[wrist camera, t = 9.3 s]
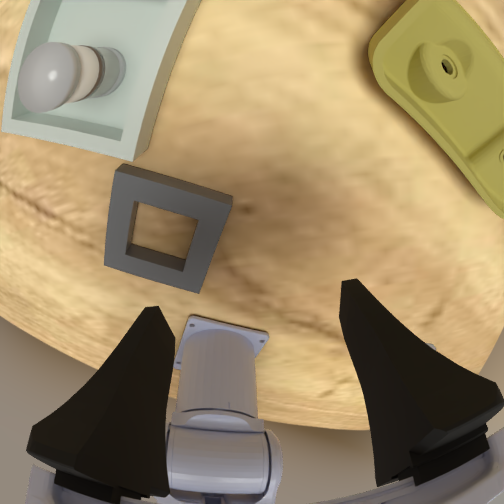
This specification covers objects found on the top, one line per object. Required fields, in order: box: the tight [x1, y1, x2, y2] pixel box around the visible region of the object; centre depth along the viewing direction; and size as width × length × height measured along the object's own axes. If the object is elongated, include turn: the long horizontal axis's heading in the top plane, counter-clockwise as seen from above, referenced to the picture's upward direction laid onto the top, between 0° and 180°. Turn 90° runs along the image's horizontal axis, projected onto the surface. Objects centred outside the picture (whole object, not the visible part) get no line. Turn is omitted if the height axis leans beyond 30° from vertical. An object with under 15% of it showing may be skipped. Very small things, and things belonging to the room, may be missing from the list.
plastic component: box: [368, 0, 504, 219], centre depth 13 cm, size 20×7×10 cm
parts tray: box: [1, 0, 201, 162], centre depth 12 cm, size 11×11×3 cm
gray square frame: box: [104, 164, 233, 294], centre depth 20 cm, size 8×8×2 cm
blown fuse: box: [18, 42, 126, 113], centre depth 11 cm, size 3×3×6 cm
